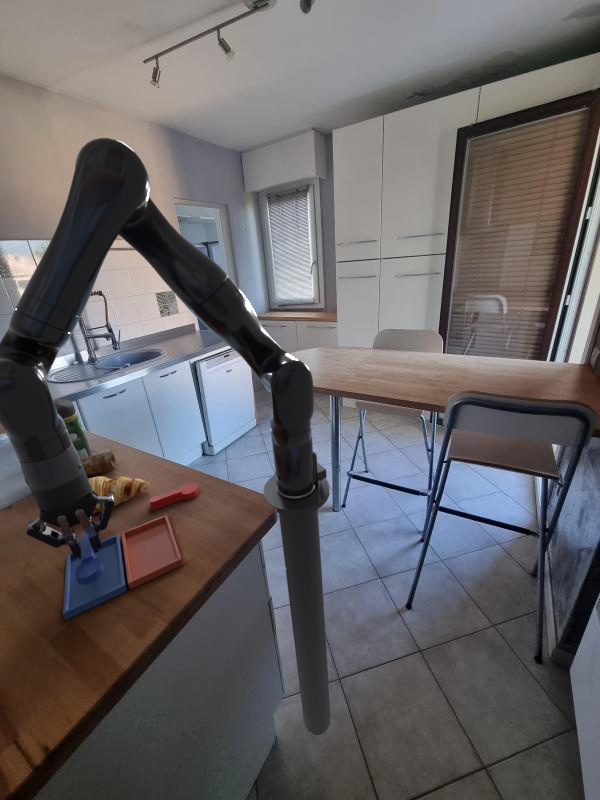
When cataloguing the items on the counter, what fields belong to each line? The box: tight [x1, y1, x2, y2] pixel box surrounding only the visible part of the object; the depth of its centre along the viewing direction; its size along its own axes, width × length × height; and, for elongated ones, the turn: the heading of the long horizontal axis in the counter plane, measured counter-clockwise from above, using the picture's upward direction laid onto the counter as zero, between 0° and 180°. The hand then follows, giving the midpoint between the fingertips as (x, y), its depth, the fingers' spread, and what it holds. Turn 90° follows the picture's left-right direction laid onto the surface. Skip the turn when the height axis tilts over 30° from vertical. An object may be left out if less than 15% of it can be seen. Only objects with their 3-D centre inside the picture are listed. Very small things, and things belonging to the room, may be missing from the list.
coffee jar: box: [53, 397, 93, 459], centre depth 95 cm, size 10×8×19 cm
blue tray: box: [62, 533, 128, 620], centre depth 61 cm, size 9×14×1 cm, turn 31°
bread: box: [81, 449, 117, 477], centre depth 90 cm, size 6×19×6 cm, turn 112°
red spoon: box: [148, 483, 199, 511], centre depth 78 cm, size 11×4×2 cm, turn 121°
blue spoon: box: [74, 532, 104, 585], centre depth 59 cm, size 11×4×2 cm, turn 31°
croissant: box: [88, 474, 150, 515], centre depth 79 cm, size 21×10×8 cm, turn 113°
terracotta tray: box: [121, 514, 184, 590], centre depth 65 cm, size 9×14×1 cm, turn 31°
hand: (89, 552), depth 61 cm, fingers closed on blue spoon, 2 cm apart
